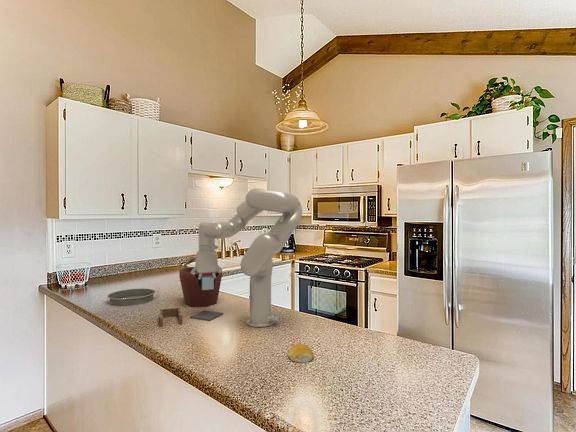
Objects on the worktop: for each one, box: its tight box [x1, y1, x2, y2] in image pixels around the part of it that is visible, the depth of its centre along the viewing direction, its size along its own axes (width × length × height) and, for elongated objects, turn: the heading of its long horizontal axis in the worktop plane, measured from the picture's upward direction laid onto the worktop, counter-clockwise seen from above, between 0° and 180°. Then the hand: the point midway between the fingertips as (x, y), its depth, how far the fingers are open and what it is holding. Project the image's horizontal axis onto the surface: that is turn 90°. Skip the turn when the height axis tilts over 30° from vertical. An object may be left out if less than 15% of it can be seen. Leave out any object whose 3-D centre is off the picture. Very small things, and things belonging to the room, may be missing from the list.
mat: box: [189, 309, 224, 322], centre depth 156 cm, size 11×11×1 cm
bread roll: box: [287, 343, 315, 364], centre depth 110 cm, size 8×9×4 cm
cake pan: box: [106, 288, 156, 307], centre depth 185 cm, size 25×25×4 cm
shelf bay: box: [159, 307, 183, 328], centre depth 149 cm, size 15×9×4 cm, turn 22°
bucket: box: [178, 257, 223, 308], centre depth 180 cm, size 24×22×25 cm
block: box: [201, 276, 214, 290], centre depth 155 cm, size 7×5×5 cm
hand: (206, 286), depth 156 cm, fingers closed on block, 5 cm apart
